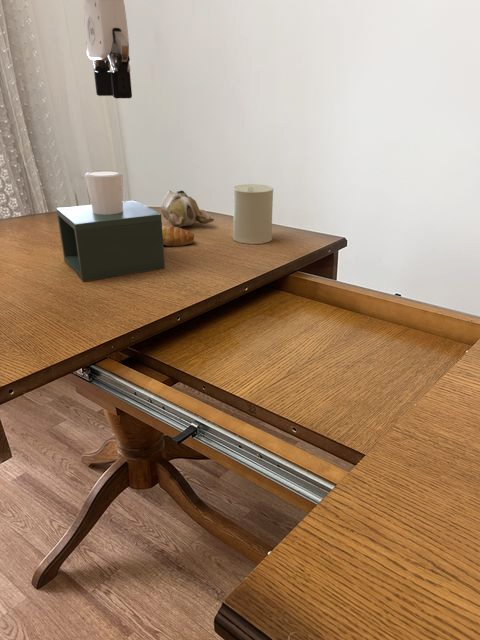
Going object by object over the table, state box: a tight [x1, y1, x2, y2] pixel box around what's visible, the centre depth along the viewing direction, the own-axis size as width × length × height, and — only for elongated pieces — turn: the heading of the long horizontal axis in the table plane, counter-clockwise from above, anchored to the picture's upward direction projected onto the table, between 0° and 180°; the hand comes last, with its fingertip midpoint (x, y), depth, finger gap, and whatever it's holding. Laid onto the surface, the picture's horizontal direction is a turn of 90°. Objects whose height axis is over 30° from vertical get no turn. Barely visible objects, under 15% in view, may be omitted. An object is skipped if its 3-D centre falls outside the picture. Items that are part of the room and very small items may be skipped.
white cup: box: [84, 170, 124, 215], centre depth 102 cm, size 7×7×7 cm
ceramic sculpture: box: [160, 190, 215, 228], centre depth 135 cm, size 11×9×15 cm
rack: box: [56, 199, 166, 282], centre depth 106 cm, size 16×14×11 cm
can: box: [232, 183, 274, 245], centre depth 124 cm, size 9×9×12 cm
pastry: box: [162, 225, 195, 247], centre depth 122 cm, size 9×7×4 cm
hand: (113, 96), depth 98 cm, fingers open, 9 cm apart
